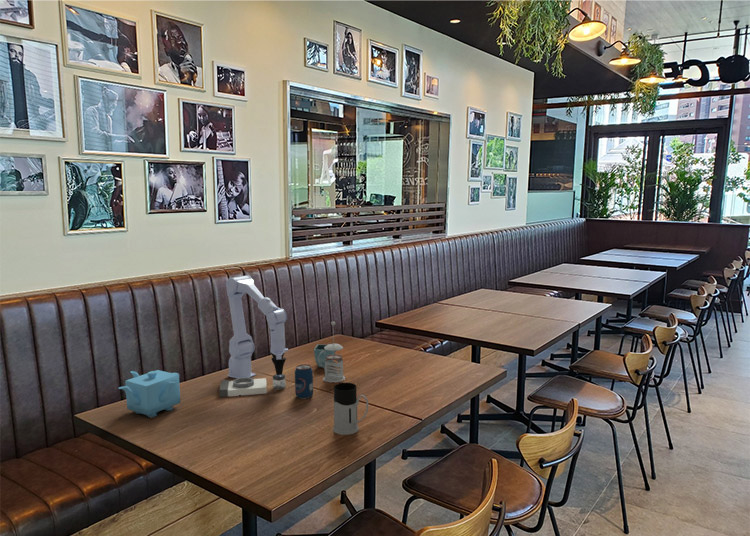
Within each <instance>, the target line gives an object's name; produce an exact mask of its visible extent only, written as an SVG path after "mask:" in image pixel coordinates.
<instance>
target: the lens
mask: <svg viewBox="0 0 750 536" xmlns="http://www.w3.org/2000/svg"><path fill="white" fill-rule="evenodd" d="M273 388H274V389H273ZM283 388H284V389H286V374H285V373H282V375H277V374H276V373H275V374H274V375H272V389H273V390H275V389H281V390H284V389H283Z"/></svg>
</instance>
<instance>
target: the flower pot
mask: <svg viewBox="0 0 750 536" xmlns="http://www.w3.org/2000/svg"><path fill="white" fill-rule="evenodd" d="M327 345H328V344H320V343H319V344H316V346H315V347H314V349H313V355H314V360H315V363H316V365H317V366H318V368H323V367H324V366H325V360H326V356H327V355H331V354H336V351H328V350H325V349H324V347H325V346H327ZM323 350H325V351H324V352H325V354H324V352H323ZM321 351H322V353H321V354H320V352H321ZM319 354H320V356H319ZM318 356H319V361H320V363H321V364H322V365H323V366H322V365H321V364H320V365H321V366H322V367H321V366H320V365H319V362H318ZM332 361H334V360H330V361H329V362H332ZM329 362H328V363H329ZM328 366H329V365H328ZM324 368H325V367H324Z"/></svg>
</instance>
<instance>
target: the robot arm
mask: <svg viewBox="0 0 750 536" xmlns="http://www.w3.org/2000/svg"><path fill="white" fill-rule="evenodd" d="M225 287H226V294H227V298H228V305H229V310H230V317H231V324H232V331H233V336H232V337H231V338H230V339H229V341H228V342H229V347H228V352H229V355H230V357H229V359H228V374H227V377H230V378H233V379H238V378H245V377H249V378H252V377H254V376H256V375H257V374H256V373H255V372H252V356H253V353H254V352H255V347H256V346H255V343H254V340H253V337H252V335H250V334H248V332H247V327H246V321H245V315H244V308H243V300H242V297H244V295H245V294H247V295H248V296H250V297H251V298H252V299H253V300H254V301H255V302H256V303H257V308H258V309H259V310H260V311H261V313H262V314H264V316H265V317H266V321H267V324H268V329H269V332H270V333H269V335H270V354H271V356H272V357H271V361H272V363H273V365H274V369H275V374H277V375H282V374H283V372H284V371H283V370H284V365H285V363H286V360H287V358H286V357H284V355H285V353H286V352H289V348H286V338H285V337H286V336H285V335H286V332H285V323H286V322H287V320H288V314H287V311H286V310H285V309H284V308H280V307H278V306H277V305H276V304H275V303H274V302H273V301H272V300H271V298H270V297H267V296H266V297H264V295H263V294H262V293H261V291H260V290H259V289H258V288H257V286H256V285H255V280H254V279H253V278H252V276H251V275H248V274H245V275H241V276H235V277H229V278H228V279H227V281H226V282H225Z"/></svg>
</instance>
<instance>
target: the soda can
mask: <svg viewBox="0 0 750 536" xmlns="http://www.w3.org/2000/svg"><path fill="white" fill-rule="evenodd" d="M313 373H314V371H313V368H312V366H311V365H310V364H306V363H305V364H299V365H296V367H295V370H294V391H295V392H294V394H295V395H296V398H298V399H300V400H304V399H306V398H307V399H309V398H311V397H312V396H313V394H314V375H313Z"/></svg>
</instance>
